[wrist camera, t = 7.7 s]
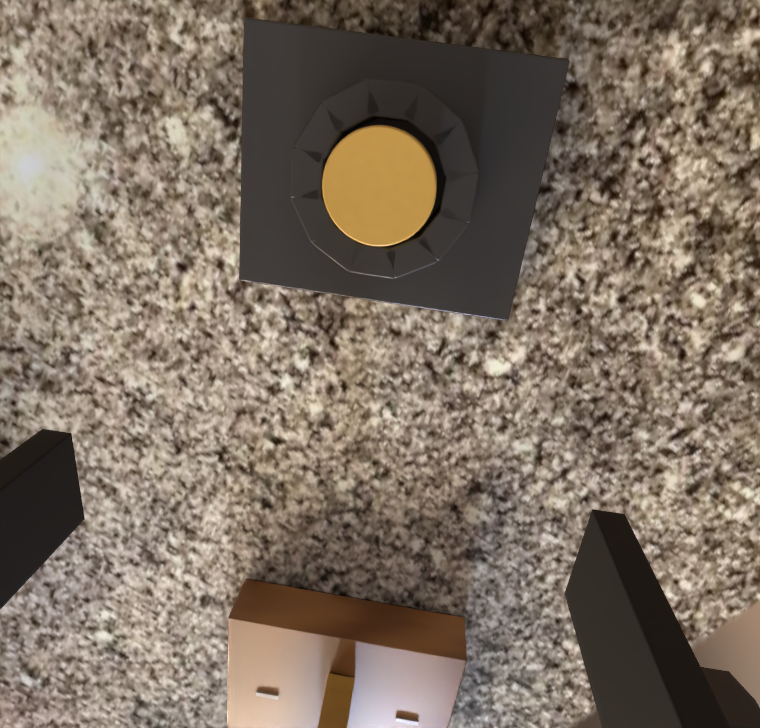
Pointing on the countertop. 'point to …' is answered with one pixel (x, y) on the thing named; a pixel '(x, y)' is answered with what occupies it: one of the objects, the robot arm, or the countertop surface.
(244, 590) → the plate
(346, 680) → the thumbturn
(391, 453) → the countertop surface
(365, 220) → the button
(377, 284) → the push button housing
